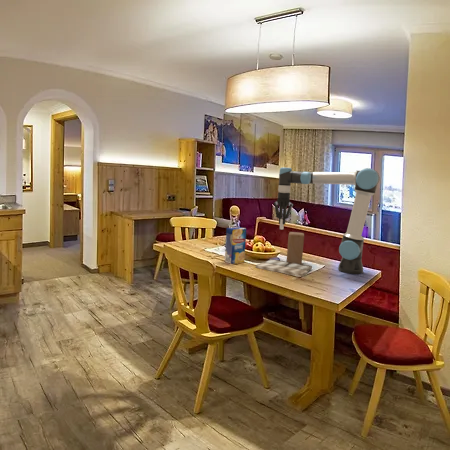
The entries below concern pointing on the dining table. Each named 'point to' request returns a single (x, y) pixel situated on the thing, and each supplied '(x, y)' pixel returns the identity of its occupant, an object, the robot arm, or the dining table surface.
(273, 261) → the grey ridged flat piece
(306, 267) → the grey wavy slab
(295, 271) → the grey ridged flat tray
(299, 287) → the dining table surface
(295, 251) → the wooden block
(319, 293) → the dining table surface
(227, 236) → the blue food box
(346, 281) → the dining table surface
